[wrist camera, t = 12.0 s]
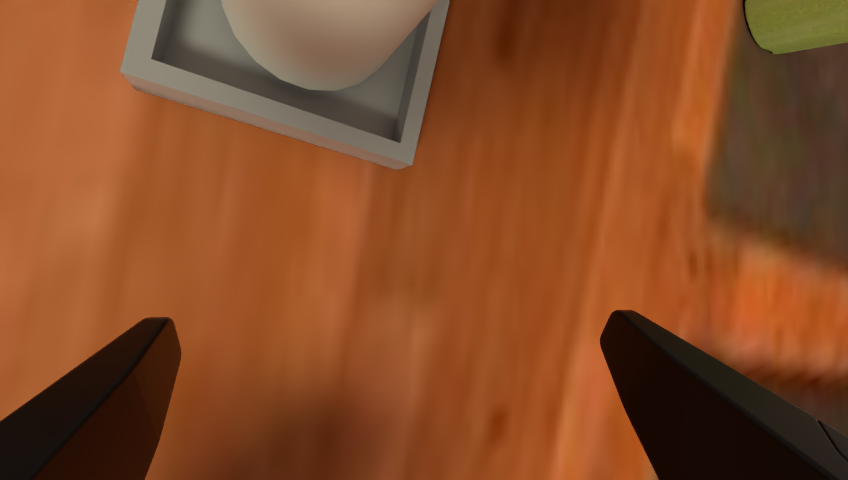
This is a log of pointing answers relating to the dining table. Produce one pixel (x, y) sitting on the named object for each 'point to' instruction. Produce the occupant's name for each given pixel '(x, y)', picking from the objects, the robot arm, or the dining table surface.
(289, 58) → the can
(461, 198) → the dining table surface
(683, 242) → the dining table surface
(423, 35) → the tray
